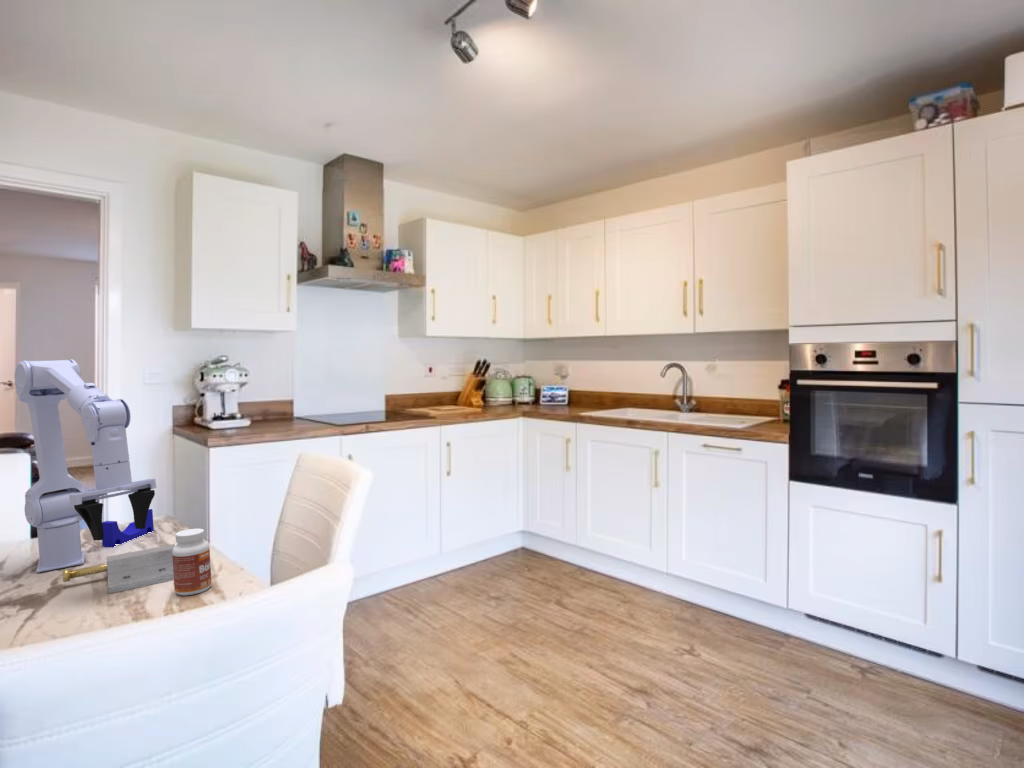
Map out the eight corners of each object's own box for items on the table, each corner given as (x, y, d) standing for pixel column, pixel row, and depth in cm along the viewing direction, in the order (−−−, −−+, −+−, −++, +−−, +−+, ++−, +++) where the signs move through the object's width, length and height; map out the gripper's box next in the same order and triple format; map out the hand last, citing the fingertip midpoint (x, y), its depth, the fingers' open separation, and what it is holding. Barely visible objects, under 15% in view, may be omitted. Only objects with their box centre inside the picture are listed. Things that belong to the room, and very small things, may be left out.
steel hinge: (108, 593, 109) (107, 573, 109) (107, 564, 125) (105, 546, 125) (181, 577, 116) (180, 558, 116) (171, 552, 132) (170, 535, 132)
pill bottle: (206, 594, 108) (203, 535, 107) (169, 598, 106) (165, 538, 106) (215, 581, 114) (212, 525, 113) (180, 585, 112) (177, 528, 112)
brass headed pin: (63, 583, 112) (62, 572, 112) (63, 580, 114) (63, 568, 114) (143, 567, 120) (142, 556, 120) (142, 564, 122) (141, 553, 121)
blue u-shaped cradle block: (138, 531, 149) (137, 508, 149) (153, 532, 149) (152, 509, 148) (97, 547, 138) (95, 522, 137) (113, 548, 137) (111, 523, 136)
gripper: (80, 469, 103) (90, 545, 103) (161, 456, 116) (170, 523, 116) (59, 471, 107) (68, 545, 107) (141, 457, 120) (149, 523, 120)
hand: (120, 534), depth 112 cm, fingers open, 7 cm apart
